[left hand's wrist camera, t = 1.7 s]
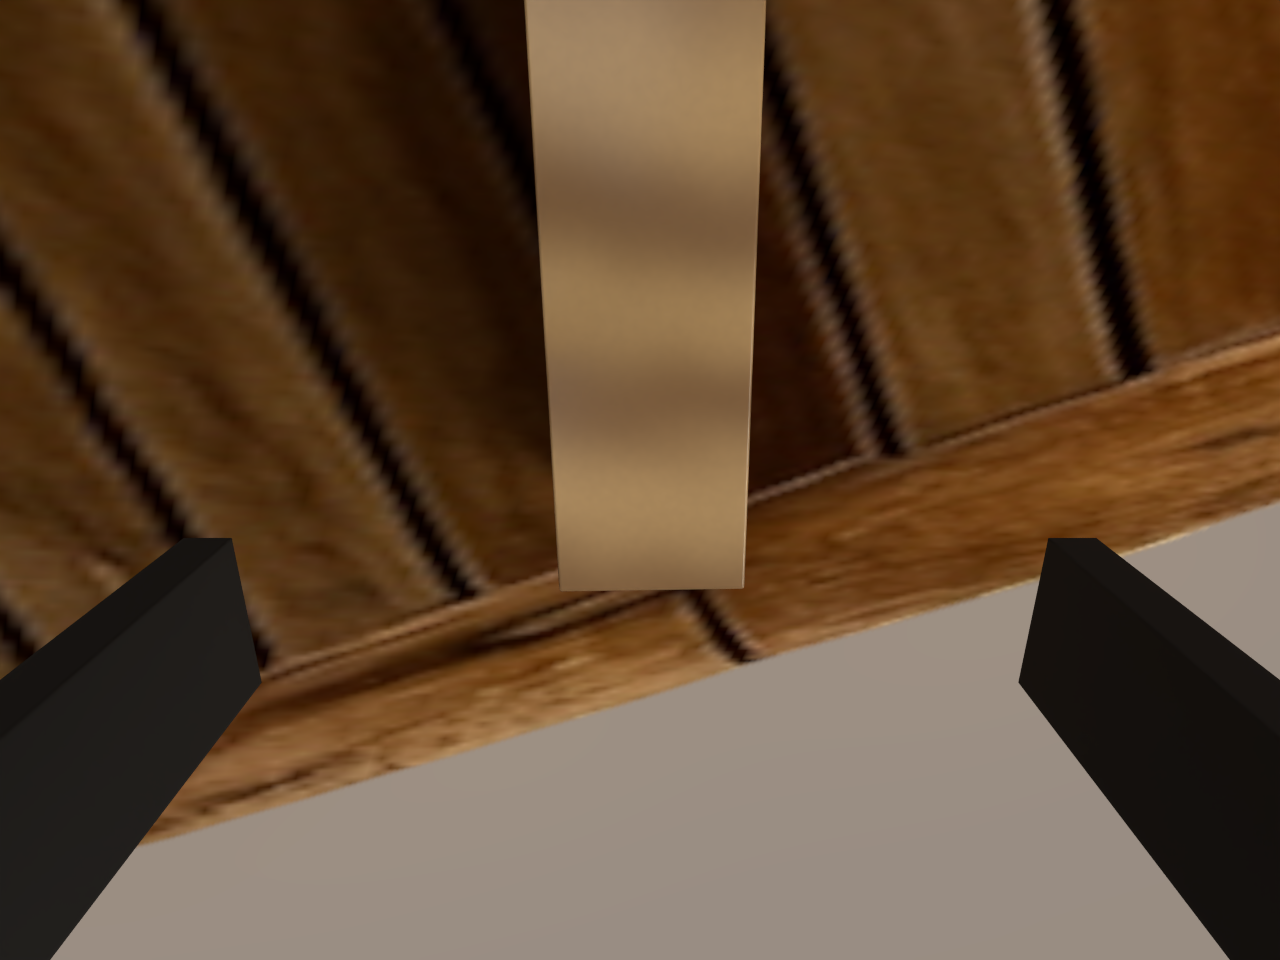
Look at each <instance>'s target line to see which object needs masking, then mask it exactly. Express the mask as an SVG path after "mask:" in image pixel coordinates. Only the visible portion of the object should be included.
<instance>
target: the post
mask: <svg viewBox="0 0 1280 960" xmlns="http://www.w3.org/2000/svg"><path fill="white" fill-rule="evenodd" d="M524 6H525V23H526V40H527V56H528V73H529V90H530V107H531V123H532V140H533V157H534V173H535V190H536V207H537V223H538V240H539V257H540V274H541V290H542V307H543V324H544V340H545V357H546V374H547V391H548V407H549V424H550V441H551V457H552V474H553V491H554V507H555V524H556V541H557V558H558V574H559V589H560V591H608V590H675V589H741V588H743V587H744V578H745V552H746V525H747V498H748V471H749V445H750V418H751V391H752V365H753V338H754V311H755V284H756V258H757V231H758V204H759V178H760V151H761V124H762V97H763V71H764V44H765V17H766V0H524Z"/></svg>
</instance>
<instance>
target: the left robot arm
mask: <svg viewBox="0 0 1280 960" xmlns="http://www.w3.org/2000/svg"><path fill="white" fill-rule="evenodd" d="M260 684H261V677H260V673H259V668H258V663H257V658H256V653H255V649H254V644H253V639H252V634H251V629H250V624H249V620H248V615H247V610H246V605H245V600H244V596H243V591H242V586H241V581H240V576H239V572H238V567H237V562H236V557H235V552H234V548H233V543H232V538H183V539H182V540H181V541H179V542H178V543H177V544H176V545H174V546H173V547H172V548H170V549H169V550H168V551H166V552H165V553H164V554H163V555H161V556H160V557H159V558H157V559H156V560H155V561H154V562H152V563H151V564H150V565H148V566H147V567H146V568H144V569H143V570H142V571H141V572H139V573H138V574H137V575H135V576H134V577H133V578H132V579H130V580H129V581H128V582H126V583H125V584H124V585H122V586H121V587H120V588H119V589H117V590H116V591H115V592H113V593H112V594H111V595H110V596H108V597H107V598H106V599H104V600H103V601H102V602H100V603H99V604H98V605H97V606H95V607H94V608H93V609H91V610H90V611H89V612H88V613H86V614H85V615H84V616H82V617H81V618H80V619H78V620H77V621H76V622H75V623H73V624H72V625H71V626H69V627H68V628H67V629H66V630H64V631H63V632H62V633H60V634H59V635H58V636H56V637H55V638H54V639H53V640H51V641H50V642H49V643H47V644H46V645H45V646H44V647H42V648H41V649H40V650H38V651H37V652H36V653H34V654H33V655H32V656H31V657H29V658H28V659H27V660H25V661H24V662H23V663H22V664H20V665H19V666H18V667H16V668H15V669H14V670H12V671H11V672H10V673H9V674H7V675H6V676H5V677H3V678H2V679H1V680H0V960H50V959H51V958H52V957H53V955H54V954H55V953H56V951H57V950H58V949H59V948H60V946H61V945H62V944H63V942H64V941H65V940H66V938H67V937H68V936H69V934H70V933H71V932H72V930H73V929H74V928H75V926H76V925H77V924H78V923H79V921H80V920H81V919H82V917H83V916H84V915H85V913H86V912H87V911H88V909H89V908H90V907H91V905H92V904H93V903H94V902H95V900H96V899H97V898H98V896H99V895H100V894H101V892H102V891H103V890H104V888H105V887H106V886H107V885H108V883H109V882H110V881H111V879H112V878H113V877H114V875H115V874H116V873H117V871H118V870H119V869H120V867H121V866H122V865H123V864H124V862H125V861H126V860H127V858H128V857H129V856H130V854H131V853H132V852H133V850H134V849H135V848H136V846H137V845H138V844H139V843H140V841H141V840H142V839H143V837H144V836H145V835H146V833H147V832H148V831H149V829H150V828H151V827H152V825H153V824H154V823H155V822H156V820H157V819H158V818H159V816H160V815H161V814H162V812H163V811H164V810H165V808H166V807H167V806H168V804H169V803H170V802H171V801H172V799H173V798H174V797H175V795H176V794H177V793H178V791H179V790H180V789H181V787H182V786H183V785H184V783H185V782H186V781H187V780H188V778H189V777H190V776H191V774H192V773H193V772H194V770H195V769H196V768H197V766H198V765H199V764H200V762H201V761H202V760H203V759H204V757H205V756H206V755H207V753H208V752H209V751H210V749H211V748H212V747H213V745H214V744H215V743H216V741H217V740H218V739H219V738H220V736H221V735H222V734H223V732H224V731H225V730H226V728H227V727H228V726H229V724H230V723H231V722H232V720H233V719H234V718H235V717H236V715H237V714H238V713H239V711H240V710H241V709H242V707H243V706H244V705H245V703H246V702H247V701H248V699H249V698H250V697H251V696H252V694H253V693H254V692H255V690H256V689H257V688H258V686H259V685H260ZM1019 684H1020V685H1021V686H1022V688H1023V689H1024V690H1025V692H1026V693H1027V694H1028V696H1029V697H1030V698H1031V699H1032V701H1033V702H1034V703H1035V705H1036V706H1037V707H1038V709H1039V710H1040V711H1041V713H1042V714H1043V715H1044V717H1045V718H1046V719H1047V720H1048V722H1049V723H1050V724H1051V726H1052V727H1053V728H1054V730H1055V731H1056V732H1057V734H1058V735H1059V736H1060V738H1061V739H1062V740H1063V741H1064V743H1065V744H1066V745H1067V747H1068V748H1069V749H1070V751H1071V752H1072V753H1073V755H1074V756H1075V757H1076V759H1077V760H1078V761H1079V762H1080V764H1081V765H1082V766H1083V768H1084V769H1085V770H1086V772H1087V773H1088V774H1089V776H1090V777H1091V778H1092V779H1093V781H1094V782H1095V783H1096V785H1097V786H1098V787H1099V789H1100V790H1101V791H1102V793H1103V794H1104V795H1105V796H1106V798H1107V799H1108V800H1109V802H1110V803H1111V804H1112V806H1113V807H1114V808H1115V810H1116V811H1117V812H1118V814H1119V815H1120V816H1121V817H1122V819H1123V820H1124V822H1125V823H1126V824H1127V825H1128V827H1129V828H1130V829H1131V831H1132V832H1133V833H1134V835H1135V836H1136V837H1137V839H1138V840H1139V841H1140V842H1141V844H1142V845H1143V846H1144V848H1145V849H1146V850H1147V852H1148V853H1149V854H1150V856H1151V857H1152V858H1153V860H1154V861H1155V862H1156V864H1157V865H1158V866H1159V867H1160V869H1161V870H1162V871H1163V873H1164V874H1165V875H1166V877H1167V878H1168V879H1169V881H1170V882H1171V883H1172V884H1173V886H1174V887H1175V888H1176V890H1177V891H1178V892H1179V894H1180V895H1181V896H1182V898H1183V899H1184V900H1185V902H1186V903H1187V904H1188V905H1189V907H1190V908H1191V909H1192V911H1193V912H1194V913H1195V915H1196V916H1197V917H1198V919H1199V920H1200V921H1201V923H1202V924H1203V925H1204V927H1205V928H1206V929H1207V930H1208V932H1209V933H1210V934H1211V936H1212V937H1213V938H1214V940H1215V941H1216V942H1217V943H1218V945H1219V946H1220V948H1221V949H1222V950H1223V951H1224V953H1225V954H1226V955H1227V957H1228V958H1229V959H1230V960H1280V680H1279V679H1278V678H1277V677H1275V676H1274V675H1273V674H1271V673H1270V672H1269V671H1267V670H1266V669H1265V668H1264V667H1262V666H1261V665H1260V664H1258V663H1257V662H1256V661H1255V660H1253V659H1252V658H1251V657H1249V656H1248V655H1247V654H1246V653H1244V652H1243V651H1242V650H1240V649H1239V648H1238V647H1236V646H1235V645H1234V644H1233V643H1231V642H1230V641H1229V640H1227V639H1226V638H1225V637H1224V636H1222V635H1221V634H1220V633H1218V632H1217V631H1216V630H1214V629H1213V628H1212V627H1211V626H1209V625H1208V624H1207V623H1205V622H1204V621H1203V620H1201V619H1200V618H1199V617H1198V616H1196V615H1195V614H1194V613H1192V612H1191V611H1190V610H1189V609H1187V608H1186V607H1185V606H1183V605H1182V604H1181V603H1180V602H1178V601H1177V600H1176V599H1174V598H1173V597H1172V596H1170V595H1169V594H1168V593H1167V592H1165V591H1164V590H1163V589H1161V588H1160V587H1159V586H1158V585H1156V584H1155V583H1154V582H1152V581H1151V580H1150V579H1148V578H1147V577H1146V576H1145V575H1143V574H1142V573H1141V572H1139V571H1138V570H1137V569H1135V568H1134V567H1133V566H1132V565H1130V564H1129V563H1128V562H1126V561H1125V560H1124V559H1123V558H1121V557H1120V556H1119V555H1117V554H1116V553H1115V552H1114V551H1112V550H1111V549H1110V548H1108V547H1107V546H1106V545H1104V544H1103V543H1102V542H1101V541H1099V540H1098V539H1097V538H1048V543H1047V548H1046V552H1045V557H1044V562H1043V567H1042V572H1041V576H1040V581H1039V586H1038V591H1037V596H1036V600H1035V605H1034V610H1033V615H1032V620H1031V624H1030V629H1029V634H1028V639H1027V644H1026V649H1025V653H1024V658H1023V663H1022V668H1021V673H1020V677H1019Z"/></svg>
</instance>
